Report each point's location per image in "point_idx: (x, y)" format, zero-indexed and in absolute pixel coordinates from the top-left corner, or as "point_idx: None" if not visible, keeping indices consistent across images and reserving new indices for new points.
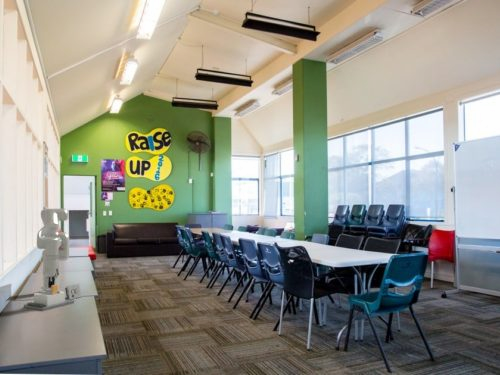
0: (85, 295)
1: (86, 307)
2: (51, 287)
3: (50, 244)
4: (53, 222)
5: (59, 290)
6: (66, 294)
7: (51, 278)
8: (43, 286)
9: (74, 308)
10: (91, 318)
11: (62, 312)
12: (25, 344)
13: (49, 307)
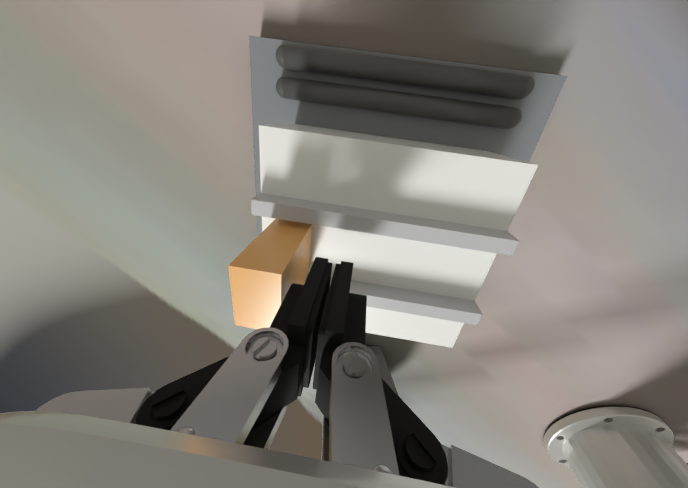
0: None
1: (107, 232)
2: (284, 257)
3: None
4: None
5: (551, 454)
6: (386, 371)
7: (210, 389)
8: (684, 472)
9: (138, 191)
10: None
11: (86, 65)
12: None
13: (254, 106)
